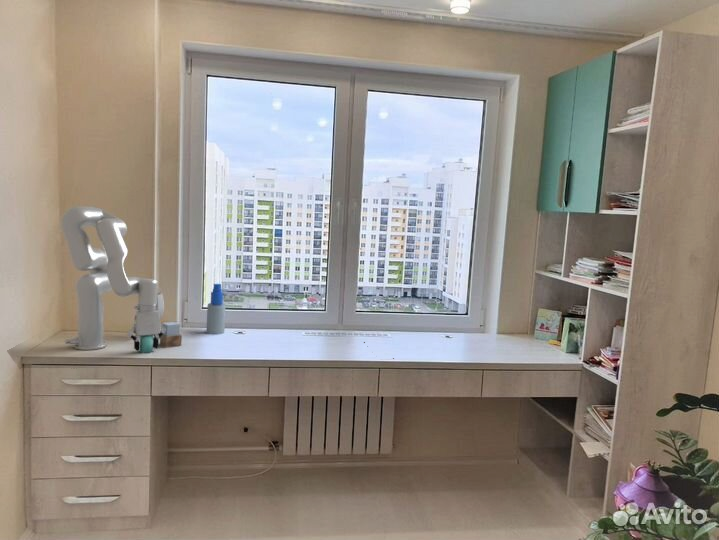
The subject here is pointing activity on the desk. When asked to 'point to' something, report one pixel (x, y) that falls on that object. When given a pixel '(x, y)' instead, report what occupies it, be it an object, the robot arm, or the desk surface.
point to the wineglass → (160, 305)
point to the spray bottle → (216, 312)
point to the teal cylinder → (146, 344)
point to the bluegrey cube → (171, 328)
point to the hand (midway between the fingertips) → (146, 348)
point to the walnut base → (170, 340)
